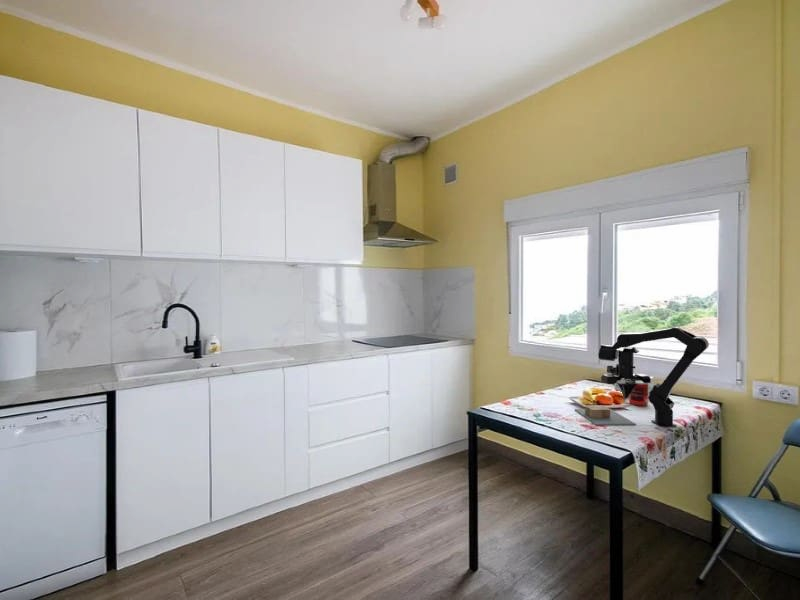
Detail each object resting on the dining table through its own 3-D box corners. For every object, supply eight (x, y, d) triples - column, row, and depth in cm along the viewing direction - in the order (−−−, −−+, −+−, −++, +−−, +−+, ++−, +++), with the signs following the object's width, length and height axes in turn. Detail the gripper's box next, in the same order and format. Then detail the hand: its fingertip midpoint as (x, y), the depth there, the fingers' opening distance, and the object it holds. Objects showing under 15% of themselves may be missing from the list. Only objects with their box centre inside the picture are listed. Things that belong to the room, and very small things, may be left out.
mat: (635, 425, 164) (635, 423, 164) (596, 425, 164) (596, 423, 164) (610, 410, 184) (610, 408, 184) (574, 410, 184) (574, 409, 184)
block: (610, 409, 171) (591, 409, 171) (610, 418, 171) (591, 418, 171) (603, 405, 177) (584, 405, 177) (603, 413, 177) (584, 413, 177)
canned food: (642, 401, 197) (642, 379, 196) (651, 406, 189) (651, 383, 188) (626, 401, 197) (626, 379, 197) (633, 406, 189) (634, 383, 189)
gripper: (635, 358, 182) (635, 393, 183) (594, 359, 182) (594, 394, 182) (651, 363, 171) (651, 400, 172) (608, 364, 171) (608, 400, 171)
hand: (625, 398), depth 174 cm, fingers closed
